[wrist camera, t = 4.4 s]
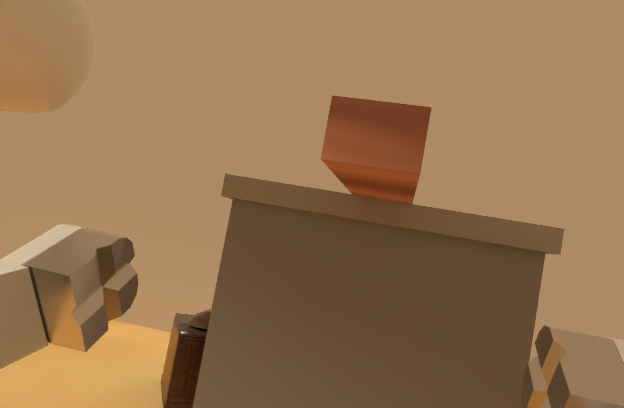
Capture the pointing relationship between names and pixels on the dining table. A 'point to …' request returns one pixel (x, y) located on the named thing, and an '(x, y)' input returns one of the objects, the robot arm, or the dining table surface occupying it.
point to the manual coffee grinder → (184, 359)
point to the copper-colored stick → (376, 147)
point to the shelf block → (368, 303)
